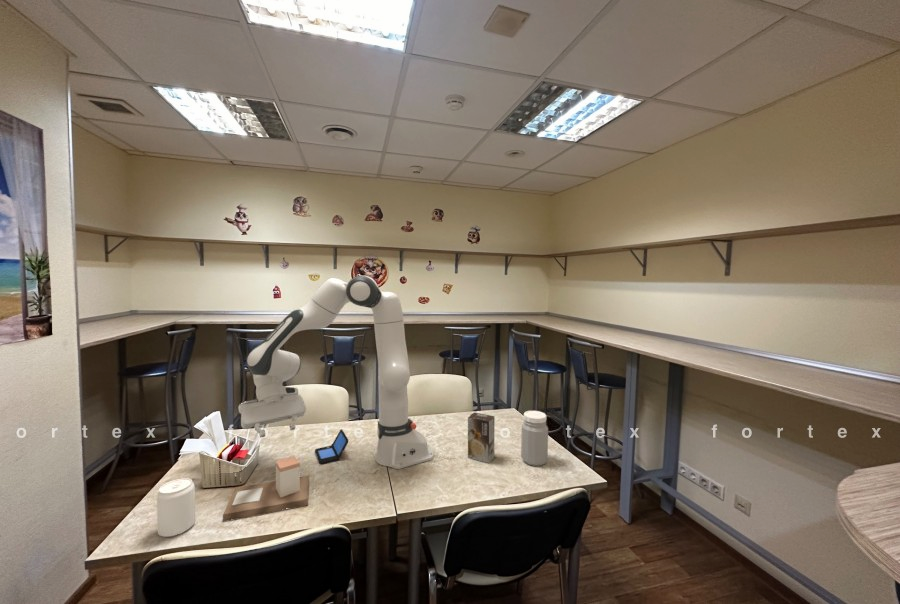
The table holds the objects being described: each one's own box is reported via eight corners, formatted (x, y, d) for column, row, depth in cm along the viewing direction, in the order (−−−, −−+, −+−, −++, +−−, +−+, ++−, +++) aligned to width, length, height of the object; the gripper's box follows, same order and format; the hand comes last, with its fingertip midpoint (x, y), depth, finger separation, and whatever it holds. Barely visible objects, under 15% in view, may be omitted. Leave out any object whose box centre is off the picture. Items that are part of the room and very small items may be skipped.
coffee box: (495, 456, 137) (495, 416, 136) (489, 463, 131) (489, 421, 131) (473, 451, 141) (474, 411, 141) (466, 458, 136) (467, 417, 135)
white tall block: (294, 482, 114) (294, 455, 114) (299, 490, 110) (299, 462, 110) (276, 489, 111) (275, 461, 111) (280, 497, 107) (280, 468, 106)
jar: (548, 468, 128) (549, 420, 127) (521, 465, 130) (521, 417, 129) (546, 455, 138) (547, 410, 137) (521, 453, 140) (521, 408, 139)
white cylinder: (151, 541, 91) (149, 496, 90) (167, 521, 99) (165, 479, 98) (187, 535, 93) (186, 491, 92) (200, 516, 101) (199, 475, 100)
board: (309, 480, 119) (309, 455, 119) (307, 505, 106) (307, 476, 106) (234, 493, 112) (234, 465, 111) (223, 521, 99) (222, 490, 98)
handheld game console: (314, 451, 141) (314, 433, 140) (341, 445, 146) (341, 428, 146) (319, 466, 130) (319, 446, 129) (349, 459, 135) (349, 440, 135)
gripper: (238, 398, 118) (243, 436, 111) (302, 387, 130) (310, 421, 123) (236, 407, 121) (241, 445, 114) (298, 396, 134) (307, 429, 127)
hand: (278, 432), depth 119 cm, fingers open, 8 cm apart
